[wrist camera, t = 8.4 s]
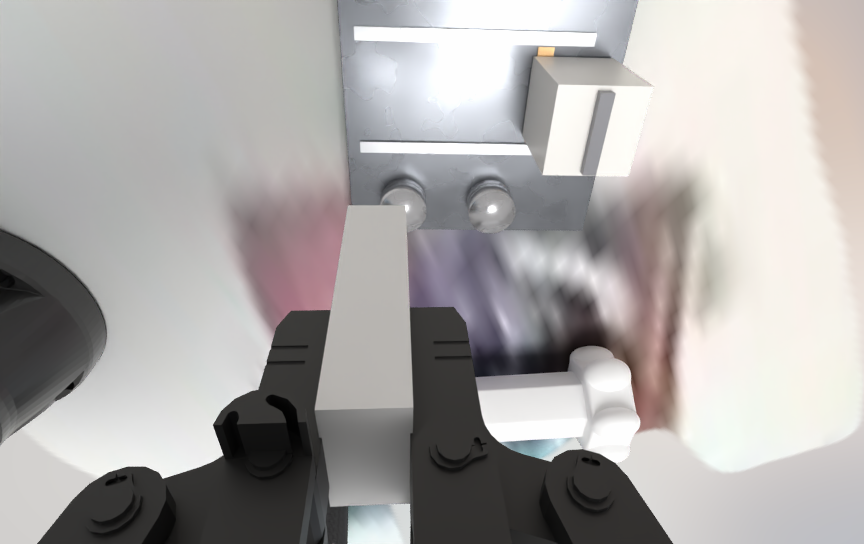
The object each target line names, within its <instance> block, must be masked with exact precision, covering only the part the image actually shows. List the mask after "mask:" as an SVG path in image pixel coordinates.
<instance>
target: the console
mask: <svg viewBox="0 0 864 544" xmlns="http://www.w3.org/2000/svg"><path fill="white" fill-rule="evenodd" d="M337 2H338V16H339V30H340V45H341V59H342V73H343V88H344V102H345V116H346V130H347V145H348V159H349V173H350V188H351V202H352V205H406V226H407V232H411V231H414V230H416V229H459V230H478V231H480V232H483V233H489V234H491V233H498V232H500V231H503V230H573V231H582V229H583V225H584V221H585V217H586V213H587V209H588V205H589V201H590V196H591V192H592V188H593V184H594V180H595V176H560V175H542V173H541V171H540V169H539V167H538V165H537V164H536V162H535V160H534V158H533V156H532V154H531V152H530V150H529V148H528V146H527V144H526V142H525V140H524V138H523V136H522V133H523V126H524V119H525V112H526V105H527V98H528V91H529V84H530V77H531V70H532V63H533V56H542V57H580V58H614V59H615V60H617V61H618V62H619V63H621V64H622V65H623V61H624V57H625V53H626V49H627V45H628V40H629V36H630V32H631V28H632V24H633V20H634V16H635V12H636V8H637V4H638V0H337Z"/></svg>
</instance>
